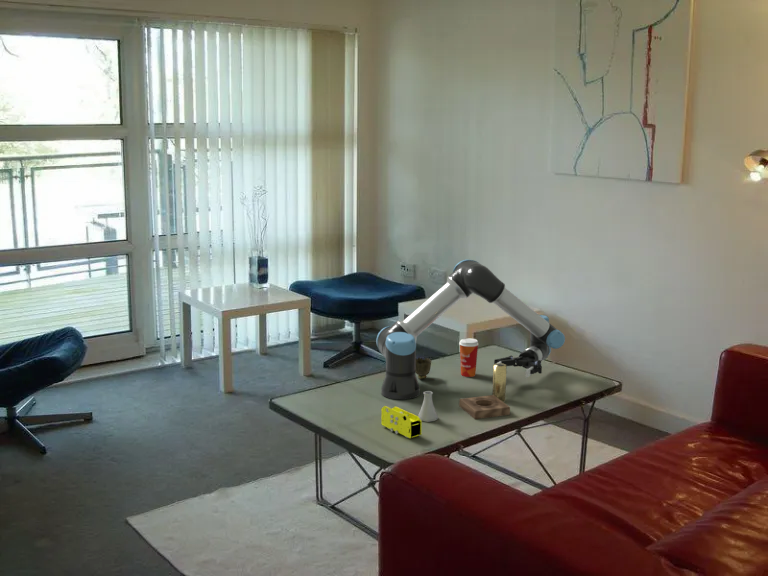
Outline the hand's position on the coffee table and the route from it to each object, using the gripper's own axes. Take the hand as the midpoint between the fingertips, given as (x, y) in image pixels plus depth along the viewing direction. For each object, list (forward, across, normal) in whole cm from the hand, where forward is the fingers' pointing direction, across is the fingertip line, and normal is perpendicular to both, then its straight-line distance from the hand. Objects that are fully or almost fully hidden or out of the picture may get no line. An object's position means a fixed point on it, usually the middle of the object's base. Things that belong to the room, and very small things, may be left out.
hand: (509, 371), depth 332 cm
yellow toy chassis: (+58, +16, -9) cm, 61 cm away
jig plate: (+23, 0, -9) cm, 25 cm away
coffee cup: (-12, +24, -9) cm, 28 cm away
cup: (+2, +38, -9) cm, 39 cm away
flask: (+42, +14, -9) cm, 45 cm away
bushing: (+10, 0, -9) cm, 13 cm away
